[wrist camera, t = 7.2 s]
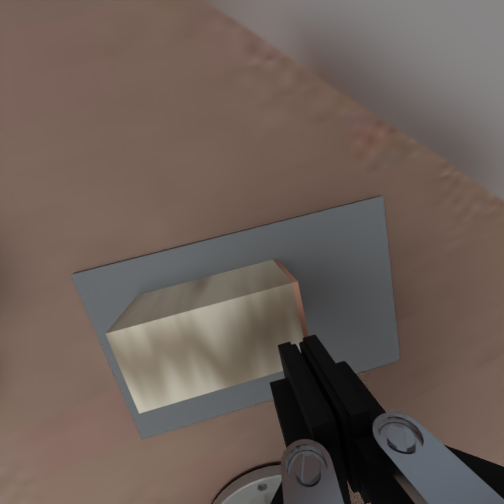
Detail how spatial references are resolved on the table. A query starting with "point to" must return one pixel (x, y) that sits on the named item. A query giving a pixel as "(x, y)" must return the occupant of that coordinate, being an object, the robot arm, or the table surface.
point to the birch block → (207, 333)
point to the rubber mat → (300, 267)
